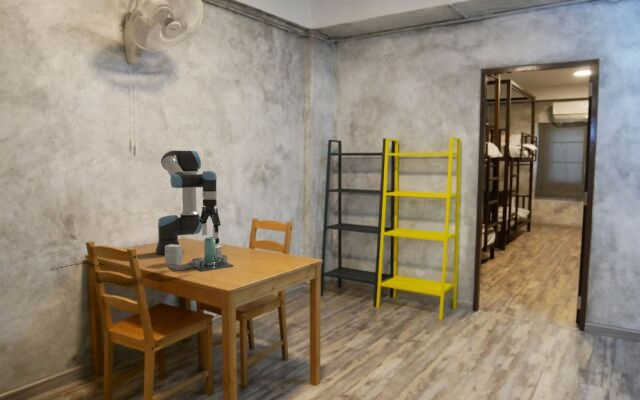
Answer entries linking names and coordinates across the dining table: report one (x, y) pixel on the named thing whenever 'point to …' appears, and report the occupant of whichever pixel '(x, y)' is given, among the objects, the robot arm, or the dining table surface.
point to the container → (217, 247)
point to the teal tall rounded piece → (209, 251)
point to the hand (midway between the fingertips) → (210, 236)
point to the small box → (173, 254)
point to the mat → (181, 267)
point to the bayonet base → (211, 266)
